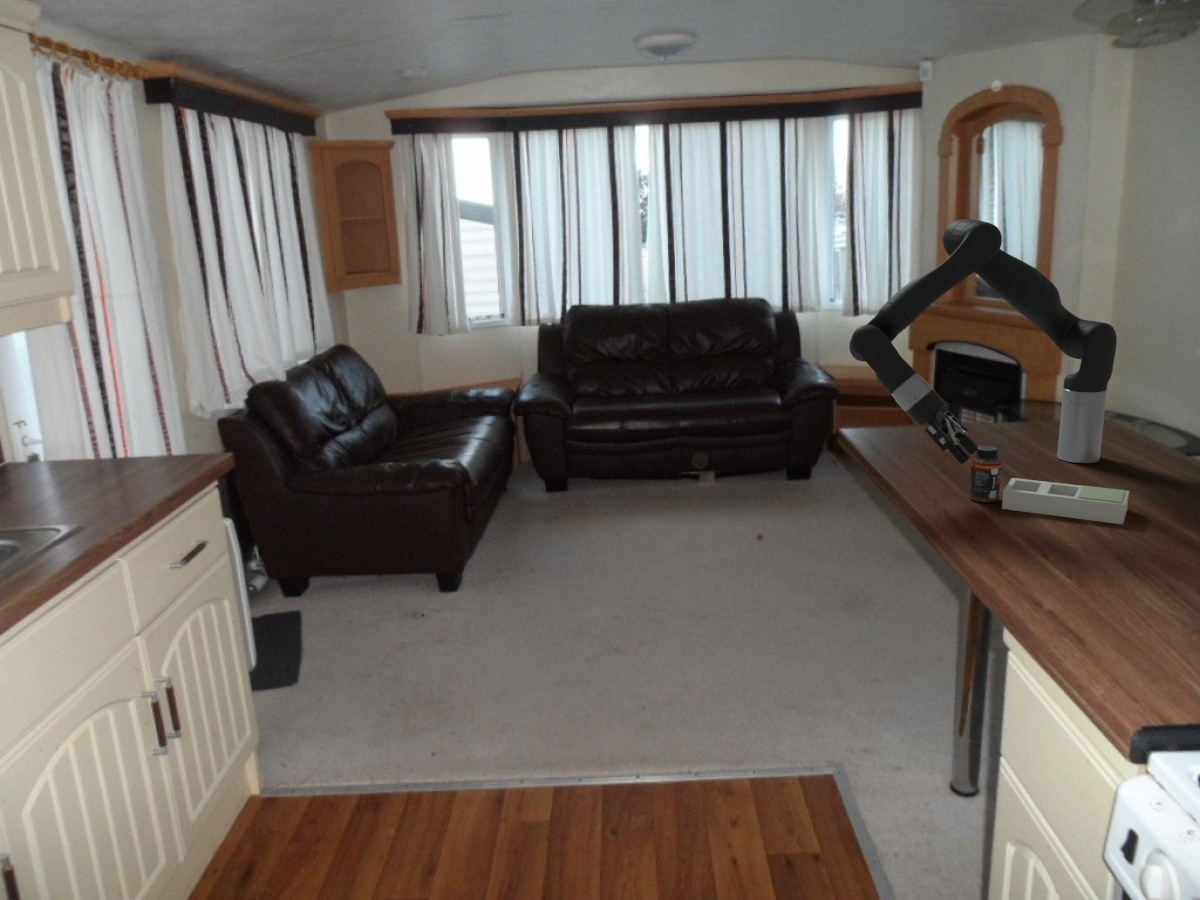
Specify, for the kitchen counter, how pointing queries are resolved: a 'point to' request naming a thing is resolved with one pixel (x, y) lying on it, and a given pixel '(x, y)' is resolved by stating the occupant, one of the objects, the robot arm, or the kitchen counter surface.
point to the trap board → (1066, 500)
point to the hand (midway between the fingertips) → (970, 456)
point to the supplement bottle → (985, 475)
